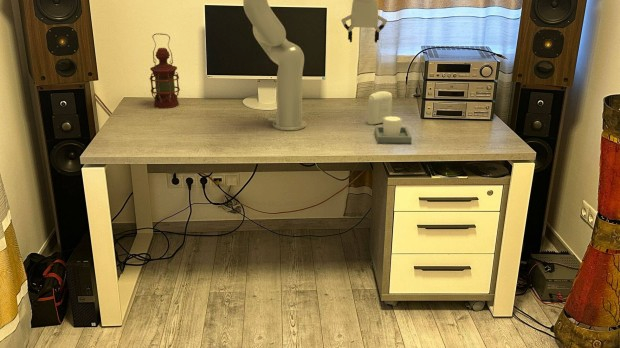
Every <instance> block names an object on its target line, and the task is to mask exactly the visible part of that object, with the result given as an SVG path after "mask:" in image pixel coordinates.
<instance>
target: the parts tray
mask: <svg viewBox="0 0 620 348" xmlns="http://www.w3.org/2000/svg"><path fill="white" fill-rule="evenodd" d="M374 136H375V139H376V143H377V145H384V144H385V145H412V138H413V137H412V135H411V133H410V130H409V129H408V127H407V126H401V129H400V136H384V131H383V126H374Z"/></svg>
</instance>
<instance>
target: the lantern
mask: <svg viewBox="0 0 620 348" xmlns="http://www.w3.org/2000/svg"><path fill="white" fill-rule="evenodd" d="M155 35H156V36H157V33H154V34H153V35H152V41H153V42H154V49H153V50H152V58H153V61H152V62H153V63H154V66H152V67H150V68H149V69H150V71H151V74H150V77H149V80H150V88H151V89H150V93H151V96H152V97H153V98H154V99H153V100H154V101H153V102H154V103H153V106H154V107H155V108H157V107H158V109H172V108H176V106H177V107H178V106H179V105H180V103H179V98H178V96H179V95H180V94H179V92H180V91H181V89H180V86H179V80H180V76H179V73H178V72H177V70H178V67H177V66H175V65H173V64H174V60H173V53H172V50H171V49H170V46H169V43H170V41H171V36H170V35H168V34H167V33H159V35H161V36H167V37H168V43H167V47H168V49H167V48H166V47H159V48H157V50H156V52H155V49H156V46H157V44H156V41H155V38H154V36H155ZM155 57H156V58H155ZM170 57H171V58H170ZM169 58H170V60H169ZM157 60H158V62H159V63H158V64H156V63H157ZM168 60H169V63H168ZM153 78H154V79H153ZM175 81H176V85H175ZM154 85H155V87H154ZM154 90H155V91H154Z"/></svg>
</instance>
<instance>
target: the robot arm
mask: <svg viewBox="0 0 620 348" xmlns="http://www.w3.org/2000/svg"><path fill="white" fill-rule="evenodd" d="M242 2H243V3H242V4H243V9H244V13H245V15H246V17H247V18H248V20H249V21H250V23H251V24H252V33H253V36H254V38H255V40H256V41H257V43H258V44H259V45H260V46H261V48H262V49H263V51H264V52H265V54H267V56H268V58H269V59H270V60H271V61H272V62H273V63H275V64H276V65H277V66H278V68H277V69H278V70H277V72H276V74H277V75H276V113H275V114H265V115H264V116H265V121H268V122H273V123H272V126H273V128H275V129H277V130H282V131H299V130H302V129H304V128H305V127H306V126H307V123H306V121H305V120H303V72H304V71H303V70H304V66H305V65H304V64H305V55H304V52H303V50H302V49H301V47H300V46H299V45H297V44H295V43H293V42H291V41H289V40H288V39H287V38H286V37H287V31H286V29H285V27H284V25H283V23H282V22H281V21H280V20H279V18H278V16H276V14H275V13H274V12H273V10H272V8H271V6H270V4H269V2H268V0H243V1H242ZM350 12H351V13H350V14H349V15H347V16H345V17H343V18H342V19H341V20H340V21H341V23H342V25H343V27H344V29H346V30H347V36H348V37H347V40H348V41H349V42H350V43H352V42H353V30H354V28H374V30H375V31H374V43H378V41H379V40H380V32H381V30H383V29H384V27H385V26H386V24H387V22H388V20H387V19H386V18H384V17H382V16H381V15H379V4H378V0H352V4H351V11H350ZM349 20H350V25H348V24H347V21H349ZM379 21H380V22H381V24H380V25H379ZM378 25H379V26H378Z"/></svg>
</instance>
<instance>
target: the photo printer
mask: <svg viewBox="0 0 620 348" xmlns="http://www.w3.org/2000/svg"><path fill="white" fill-rule="evenodd" d="M392 106H393V95H392V93H391V92H389V91H386V90H384V91H383V90H380V91H377V92H376V91H375V92H373V93H372V94H370V95H369V96H368V100H367V113H366V114H367V115H366V123H367V124H368V125H370V126H371V125H377V124H383V118H384V117H386V116H392V109H393V108H392Z"/></svg>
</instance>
